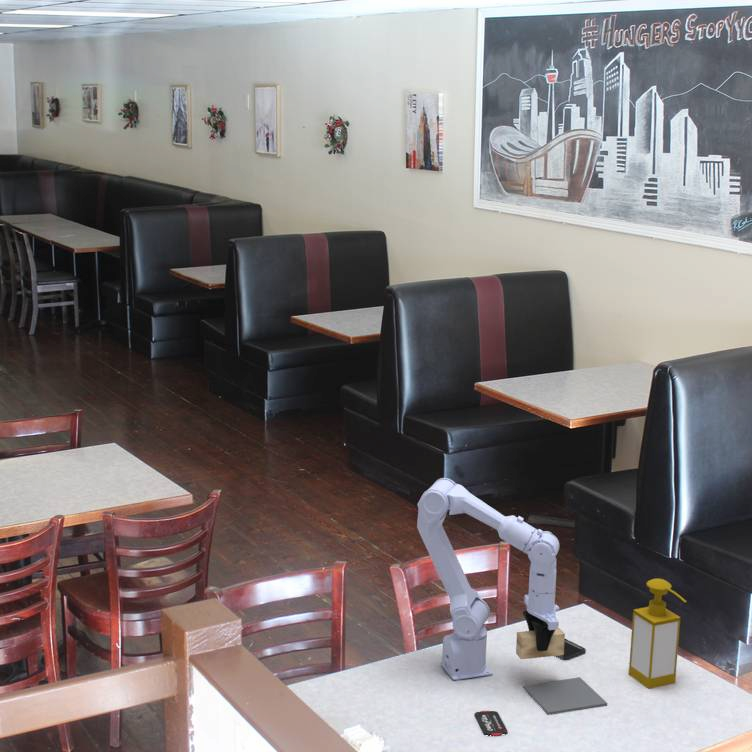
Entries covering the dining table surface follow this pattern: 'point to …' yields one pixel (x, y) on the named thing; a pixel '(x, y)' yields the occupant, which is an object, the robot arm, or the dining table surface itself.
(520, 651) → the oak domino
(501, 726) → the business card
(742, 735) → the dining table surface
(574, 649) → the phone
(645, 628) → the soap bottle
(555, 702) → the rubber mat
